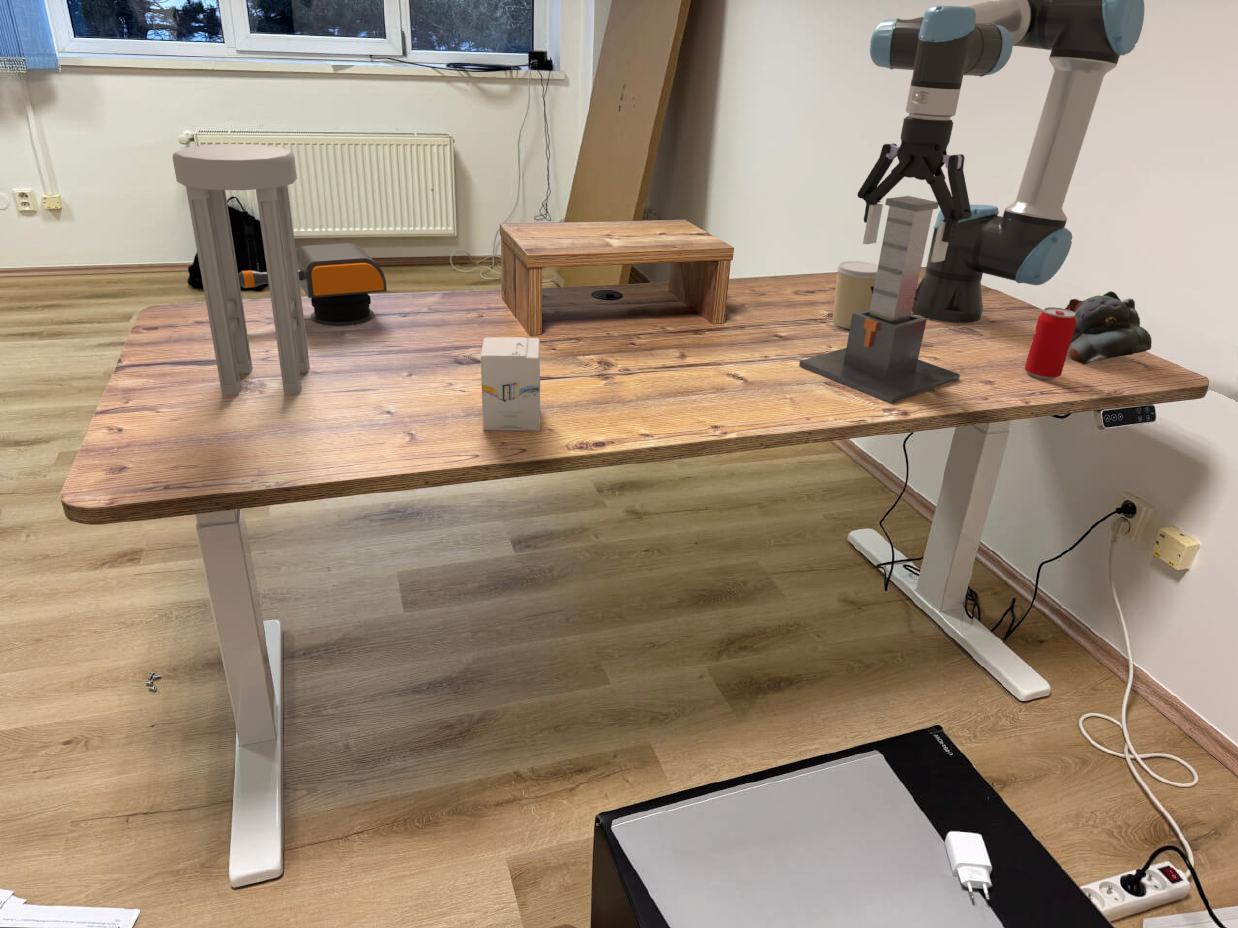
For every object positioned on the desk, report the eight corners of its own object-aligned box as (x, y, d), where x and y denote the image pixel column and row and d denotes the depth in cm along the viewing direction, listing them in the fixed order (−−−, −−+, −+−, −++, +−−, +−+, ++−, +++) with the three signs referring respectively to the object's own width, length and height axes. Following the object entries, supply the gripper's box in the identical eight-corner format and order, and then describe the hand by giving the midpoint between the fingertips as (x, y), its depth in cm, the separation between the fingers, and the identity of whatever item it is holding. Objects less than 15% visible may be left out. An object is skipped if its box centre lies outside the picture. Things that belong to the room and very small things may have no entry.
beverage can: (1058, 372, 161) (1077, 309, 156) (1061, 383, 156) (1081, 319, 150) (1022, 366, 163) (1039, 304, 157) (1024, 377, 158) (1042, 313, 152)
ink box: (484, 407, 134) (482, 335, 129) (539, 408, 135) (540, 336, 130) (481, 431, 127) (479, 355, 121) (539, 431, 127) (540, 356, 122)
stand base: (867, 346, 169) (877, 293, 164) (958, 379, 155) (972, 323, 150) (799, 365, 157) (807, 309, 152) (891, 403, 144) (903, 343, 139)
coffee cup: (875, 333, 176) (886, 274, 171) (828, 328, 178) (838, 270, 172) (872, 319, 185) (883, 263, 179) (828, 314, 186) (837, 259, 181)
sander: (241, 314, 167) (231, 248, 162) (372, 302, 178) (367, 240, 172) (251, 338, 156) (241, 268, 150) (390, 324, 167) (385, 258, 161)
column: (884, 316, 156) (908, 196, 146) (912, 325, 152) (939, 202, 142) (863, 321, 152) (886, 198, 143) (892, 331, 148) (917, 205, 138)
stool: (324, 363, 147) (299, 145, 131) (311, 399, 134) (282, 161, 118) (227, 364, 144) (189, 142, 128) (204, 401, 131) (159, 158, 115)
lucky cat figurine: (1070, 366, 164) (1061, 293, 164) (1058, 370, 176) (1050, 302, 176) (1160, 354, 160) (1151, 278, 160) (1142, 359, 171) (1134, 289, 171)
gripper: (850, 108, 143) (829, 238, 152) (988, 127, 126) (955, 272, 135) (878, 108, 147) (856, 234, 157) (1015, 125, 130) (981, 266, 140)
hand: (902, 252), depth 146 cm, fingers open, 13 cm apart
